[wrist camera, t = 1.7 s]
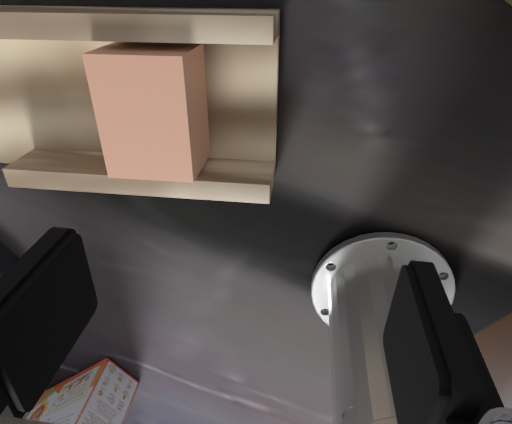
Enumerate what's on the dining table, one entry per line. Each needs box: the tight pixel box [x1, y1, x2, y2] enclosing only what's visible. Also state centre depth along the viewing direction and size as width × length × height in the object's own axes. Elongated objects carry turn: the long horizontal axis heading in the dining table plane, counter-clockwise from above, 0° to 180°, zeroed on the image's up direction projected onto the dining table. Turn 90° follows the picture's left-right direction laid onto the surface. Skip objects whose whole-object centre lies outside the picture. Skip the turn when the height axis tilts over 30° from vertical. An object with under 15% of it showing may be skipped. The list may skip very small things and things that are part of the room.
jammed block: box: [82, 42, 210, 183], centre depth 27 cm, size 8×6×5 cm
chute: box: [0, 5, 280, 204], centre depth 29 cm, size 12×25×5 cm, turn 90°
